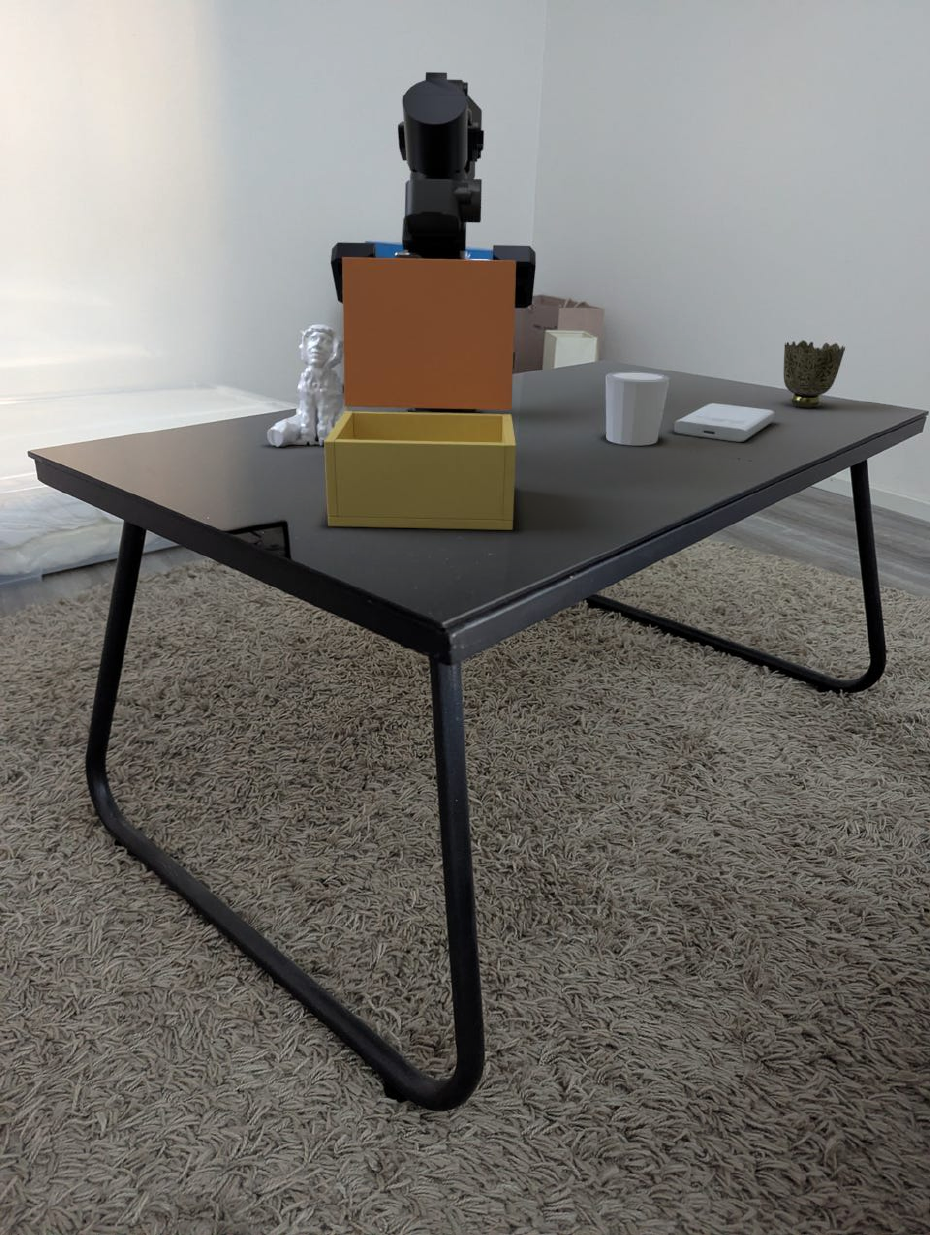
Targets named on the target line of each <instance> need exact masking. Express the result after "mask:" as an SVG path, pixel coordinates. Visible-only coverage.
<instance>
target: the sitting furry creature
mask: <svg viewBox="0 0 930 1235" xmlns="http://www.w3.org/2000/svg"><path fill="white" fill-rule="evenodd" d="M300 335H301V336H302V337H301V343H300V344H299V346H298V350H299V351H300V354H301V357H300V360H301V361H302V362H303V363H304V364H305V365H306V368H305V370H304V371H303V372H302V373H300V380H299V381H298V385H297V389H296V394H297V397H298V399H299V406H298V407H297V408H296V409H295V414H294V415H293V416H290V417H288V418H284V419H282V420H279V421H277V422H275V424H274V425H273V426H271V428H268V430H267V432H266V438H267V440H268V442H269V444H270V445H272V446H275V447H276V448H281V447H286V446H289V445H296V446H297V445H303V446H307V444H309V446H314V445H319V446H321V447H323V446H324V441H325V440H326V438H327V437H328V435H329V434H330V432H331V431H332V429H333V428H334V427H335V425H336V424H337V422H338V421H339V419H340V418H341V416H342V415H343V413H344V412H345V411H350V409H349V407H345V406H344V386H343V383H342V382H341V377H340V376H338V372H337V370H335V369H334V368H335V367H337V365H340V364H342V359H343V358H344V343H343V338H341V336H340V334H339V332H338V331H337V330H336V329H335V328H332V327H330V326H329V325H326V324H325V323H321V324H318V323H316V324H313V325H310V326H309V327H308V328H307V329H305V330H300ZM316 440H318V441H316Z"/></svg>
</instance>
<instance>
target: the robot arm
mask: <svg viewBox="0 0 930 1235" xmlns="http://www.w3.org/2000/svg"><path fill="white" fill-rule="evenodd" d="M401 100H402V101H401V103H402V114H403V115H402V117H403V121H401V122H400V123H398V124H397V135H398V137H397V138H398V148H399V152H400V156H401V159H402V161H406V164H407V166H408V168H409V172H410V173H409V179H408V180H406V182H405V185H404V187H405V188H404V190H405V191H404V217H403V219H402V232H401V233H402V234H401V244H402V246H401V247H402V250H403V251H396V252H395V253H394V258H404V259H456V260H509V261H516V283H515V309H528V308H529V307H530V306H532V305H533V299H534V298H533V297H534V287H535V277H536V270H537V269H536V268H537V264H536V263H537V260H536V258H537V256H536V255H537V254H536V251H535V250H534V249H533V248H532V246H530V245H517V244H515V245H513V244H509V245H508V244H499V245H498V244H493V246H492V259H489V258H487V259H486V258H483V259H482V258H466V248H467V246H466V245H467V242H466V241H467V223H478V224H479V223H482V222H481V221H482V192H483V191H482V189H483V188H482V186H483V185H482V184H483V183H482V182H483V179H481V178H476V163H478V160H480V159H482V151H483V150H484V148H485V147H484V145H485V130H484V129H483V127H482V126H483V110H482V109H481V108H480V107H479V105H478V104H477V103H476V102H475V101H474V100H473V99H472V97H471V96H470V95H469V82H468V81H467V82H465V81H463V79H448V73H447V72H443V71H441V72H439V71H438V72H435V71H433V72H432V71H426V72H425V80H421V81H419V82H416V83H415V84H412V86H410V87H409V88H408V90H406V92H405V93H404V94H403V95H402V99H401ZM343 257H351V258H378V252H377V245H376V242H350V241H349V242H347V241H345V242H341V241H339V242H337V243H336V244H335V245H334V246H333V247H332V249H331V256H330V266H331V271H332V272H331V273H332V277H333V283H334V287H335V293H336V297H337V302H339V303H340V304H342V305H343V269H342V258H343ZM407 412H436V413H475V412H477V409H443V408H407Z"/></svg>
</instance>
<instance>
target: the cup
mask: <svg viewBox="0 0 930 1235" xmlns="http://www.w3.org/2000/svg"><path fill="white" fill-rule="evenodd" d="M845 351H846V346H844V345H841V347H840V346H839V345H838V343H837V342H835V343H833V344H831V345H830V344H829V342H825V343H824V344H823V345H822V347H815V346H814V342H813V341H810V342H809V343H807V341H806V340H804V339H803V340H800V341H799V342H798V344H796V342H795V341H794V340H793V341H792V342H791V344H790V342H788V341H787V342H784V350H783V382H784V385H785V387H786V389H787V390H788V391H789V392H790V393H792V395H791V397H790V403H791V404H792V405H793V406H795V407H796V408H804V409H806V408H807V409H813V408H816V407H818V406H819V404H820V402H821V397H820V396H822V395H824V394H826V393H827V392H828V391H830V389H831V388H832V387H833V385H834V383H835V381H836V378H837V376H838V373H839V369H840V367H841V363H842V360H843V356H844V353H845Z"/></svg>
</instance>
